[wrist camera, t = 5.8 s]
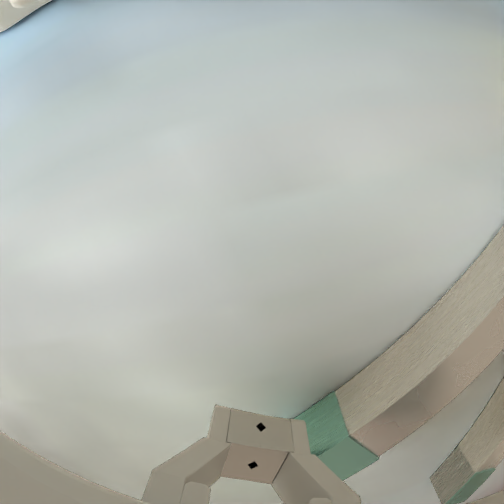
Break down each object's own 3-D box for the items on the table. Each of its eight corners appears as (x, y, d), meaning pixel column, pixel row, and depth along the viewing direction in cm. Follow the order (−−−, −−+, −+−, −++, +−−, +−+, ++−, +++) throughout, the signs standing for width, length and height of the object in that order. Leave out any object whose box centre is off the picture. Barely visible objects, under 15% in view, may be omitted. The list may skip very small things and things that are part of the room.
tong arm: (538, 171, 8) (579, 173, 6) (552, 208, 9) (590, 215, 6) (274, 430, 11) (276, 477, 9) (306, 451, 11) (312, 495, 9)
